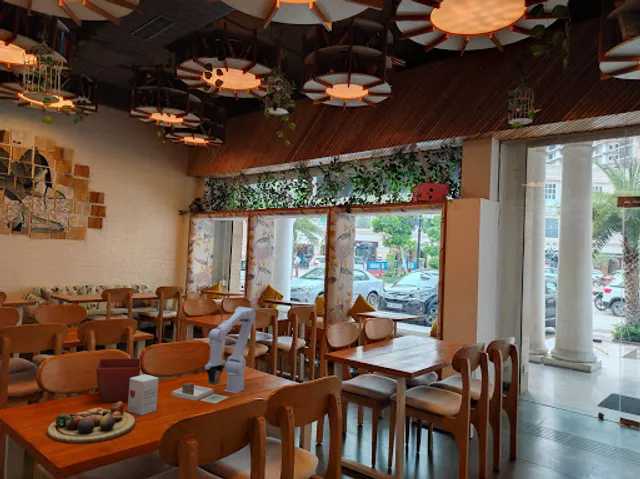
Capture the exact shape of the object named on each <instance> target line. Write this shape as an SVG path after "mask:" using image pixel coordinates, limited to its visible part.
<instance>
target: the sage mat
mask: <svg viewBox="0 0 640 479" xmlns="http://www.w3.org/2000/svg"><path fill="white" fill-rule="evenodd" d="M228 398H229V396H228V395H221V394H217V393H211V394H209V395H207V396H205V397H202V398H200V401H202V402H206V403H212V404H217V403H219V402H221V401H224V400H226V399H228Z"/></svg>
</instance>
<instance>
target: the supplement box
mask: <svg viewBox="0 0 640 479" xmlns="http://www.w3.org/2000/svg"><path fill="white" fill-rule="evenodd" d="M158 389H159V377H156V376H153V375H150V374H149V375H148V374H141V375H140V374H139V376H136V377H132V378H130V384H129V398H128V401H127V403H128V404H127V413H133V414H136V415H139V416H144V415H146V414H149V413H152V412H156V410H157V403H158Z"/></svg>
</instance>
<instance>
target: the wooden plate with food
mask: <svg viewBox="0 0 640 479" xmlns="http://www.w3.org/2000/svg"><path fill="white" fill-rule="evenodd" d="M124 407H125V405H124V401H122V402H121V401H119V402H113V404H112V405H111V406H109V409H105V408H102V407H94V408H92V409H88V410H86V411H80V412H76V413H75V412H73V413H70V414H69V411H67V412H65V413H64V412H62V413H60V414H58V415H57V416H56V418H55V420H54V421H53V422H51V423H50V425H49V426H48V427H47V431H46V434H47V436H48V437H49V438H50V437H51V438H50V439H52V440H53V439H54V441H56V440H57V441H56V442H59V441H63V442H72V443H71V444H73V442H74V443H84V442H85V443H84V444H88V443H87V442H95V443H99V442H98V441H101V442H106V441H109V440H112V439H115V438H118V437H121V436H123V435H125V434H127V433H128V432H130V431H131V430H132V429H133V428H134V426H135V425H136V419H135V417H134V416H133V415H132V414H130V413H129V412H125V411H124ZM105 440H106V441H105ZM63 442H62V443H63Z"/></svg>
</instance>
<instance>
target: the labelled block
mask: <svg viewBox="0 0 640 479" xmlns="http://www.w3.org/2000/svg"><path fill="white" fill-rule="evenodd" d="M220 379H221V375H220V371H218V370H217V371H216V374H215V379H214V382H213V383H212V382H209V377H207V385H208V384H209V385H214V386H216V385H218V384H220Z"/></svg>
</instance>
